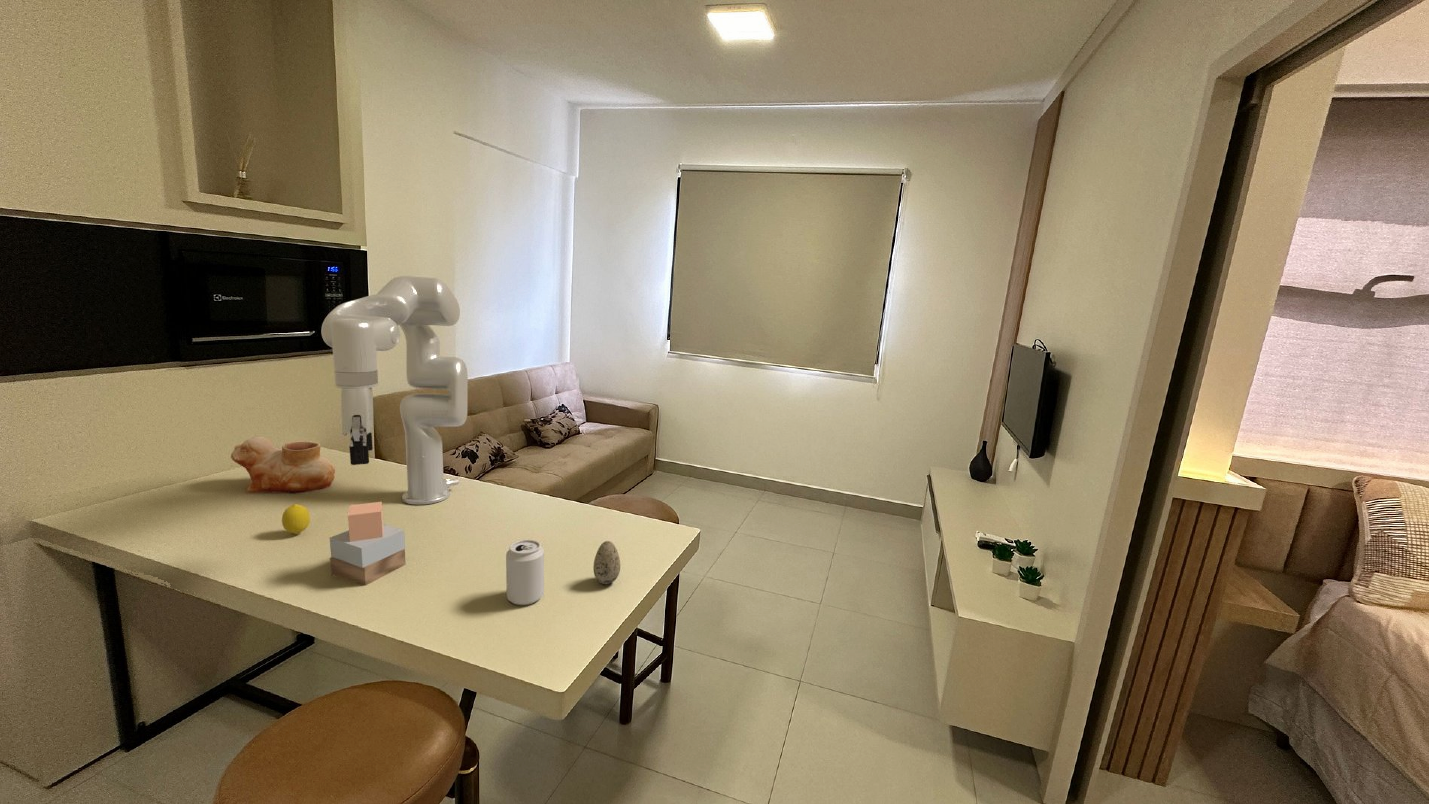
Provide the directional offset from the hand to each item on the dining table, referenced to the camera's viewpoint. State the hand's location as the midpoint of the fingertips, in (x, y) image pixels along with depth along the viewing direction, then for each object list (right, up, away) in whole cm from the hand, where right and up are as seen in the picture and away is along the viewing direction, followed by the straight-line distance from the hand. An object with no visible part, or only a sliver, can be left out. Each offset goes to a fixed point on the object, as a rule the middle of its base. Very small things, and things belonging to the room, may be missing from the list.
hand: (362, 457), depth 118 cm
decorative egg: (+52, -29, +6) cm, 60 cm away
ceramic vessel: (-54, -14, +48) cm, 74 cm away
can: (+36, -30, -2) cm, 47 cm away
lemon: (-28, -21, +19) cm, 40 cm away
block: (-1, -17, +3) cm, 18 cm away
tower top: (-1, -22, +4) cm, 22 cm away
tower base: (-1, -26, +5) cm, 27 cm away
